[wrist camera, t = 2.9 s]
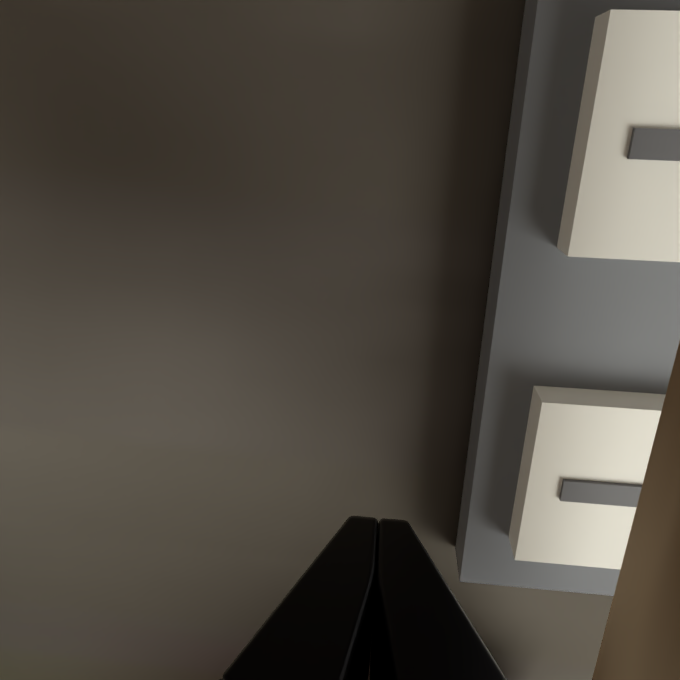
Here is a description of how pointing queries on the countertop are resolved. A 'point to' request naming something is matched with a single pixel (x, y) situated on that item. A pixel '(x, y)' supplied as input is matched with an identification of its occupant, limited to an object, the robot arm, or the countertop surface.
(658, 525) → the bar
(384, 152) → the countertop surface
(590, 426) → the label board
